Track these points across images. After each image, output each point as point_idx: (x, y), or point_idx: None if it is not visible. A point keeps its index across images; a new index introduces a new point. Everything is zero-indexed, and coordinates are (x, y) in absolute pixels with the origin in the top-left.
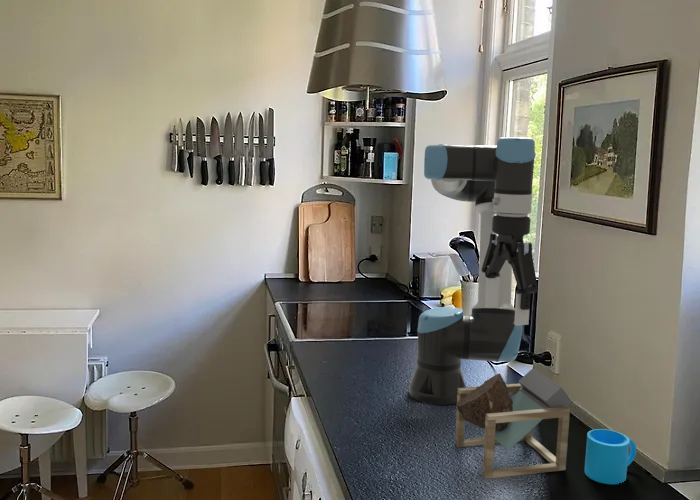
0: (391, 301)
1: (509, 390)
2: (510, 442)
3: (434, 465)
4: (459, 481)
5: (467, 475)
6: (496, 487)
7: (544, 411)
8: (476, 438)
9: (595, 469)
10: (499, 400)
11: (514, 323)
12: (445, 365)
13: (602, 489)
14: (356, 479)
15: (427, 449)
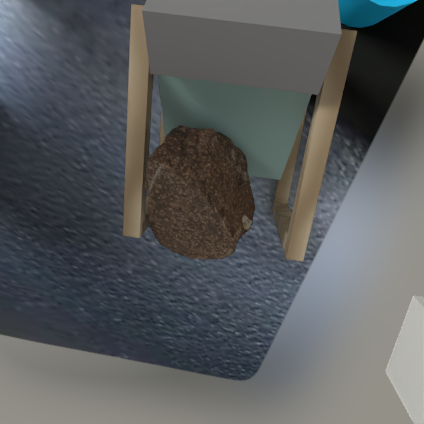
0: None
1: (149, 98)
2: (279, 170)
3: (215, 261)
4: (274, 253)
5: (262, 232)
6: None
7: (334, 115)
8: None
9: (382, 19)
10: (232, 189)
11: (390, 377)
12: None
13: (405, 34)
14: (217, 368)
15: (162, 246)
